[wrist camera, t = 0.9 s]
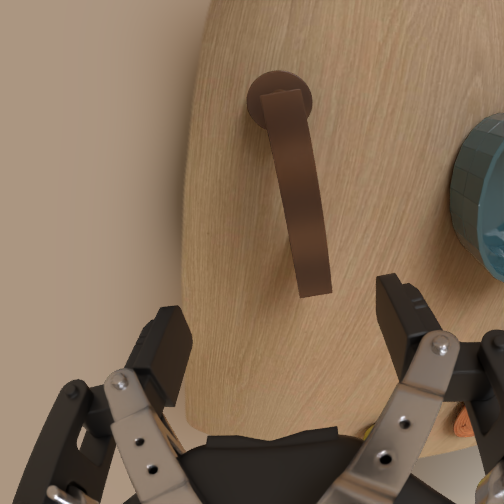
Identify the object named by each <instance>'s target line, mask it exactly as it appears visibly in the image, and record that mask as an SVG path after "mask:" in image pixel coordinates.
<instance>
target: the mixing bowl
mask: <svg viewBox="0 0 504 504" xmlns="http://www.w3.org/2000/svg"><path fill="white" fill-rule="evenodd" d="M450 212H451V217H452V222H453V227H454V230H455V232H456V234H457V236H458V238H459V241H460V243H461V244H462V245H463V246H464V247H465V248H466V249H467V250H468V252H469V253H470V254H471V255H472V256H473V257H474V258H475V259H476V260H477V261H478V262H479V263H480V264H481V265H482V266H483V267H484V268H485V269H486V270H487V271H488V272H489V273H490V274H491V275H492V276H493V277H494V278H496V279H498V280H500V281H502V282H504V113H497V114H495V115H492V116H489V117H487V118H485V119H484V120H483V121H481V122H480V123H479V124H478V125H477V126H476V127H474V128H473V129H472V131H471V132H470V134H469V135H468V137H467V138H466V140H465V141H464V143H463V144H462V146H461V149H460V152H459V154H458V157H457V159H456V162H455V164H454V169H453V174H452V180H451V185H450Z"/></svg>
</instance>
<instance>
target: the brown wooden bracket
mask: <svg viewBox="0 0 504 504" xmlns="http://www.w3.org/2000/svg"><path fill="white" fill-rule="evenodd" d="M247 107H248V111H249V113H250V115H251V117H252V119H253V120H254V121H255V122H256V123H257V124H258V125H259V126H261V127H262V128H264V129H266V130H267V131H268V135H269V140H270V145H271V149H272V154H273V159H274V163H275V168H276V173H277V178H278V183H279V188H280V193H281V198H282V203H283V208H284V213H285V218H286V223H287V229H288V234H289V239H290V245H291V250H292V256H293V261H294V267H295V273H296V278H297V284H298V290H299V296H300V298H305V297H311V296H317V295H323V294H329V293H332V283H331V274H330V265H329V256H328V248H327V240H326V232H325V225H324V217H323V210H322V204H321V197H320V190H319V184H318V178H317V172H316V166H315V160H314V154H313V149H312V143H311V138H310V133H309V128H308V122H307V118H308V117H309V115H310V112H311V109H312V95H311V92H310V90H309V88H308V86H307V85H306V83H305V82H304V81H303V80H302V79H301V78H300V77H298V76H297V75H295V74H293V73H290V72H287V71H271V72H268V73H265V74H263V75H261V76H260V77H258V78H257V79H256V80H255V81H254V82H253V84H252V85H251V87H250V89H249V91H248V95H247Z"/></svg>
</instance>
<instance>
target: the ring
mask: <svg viewBox="0 0 504 504" xmlns="http://www.w3.org/2000/svg"><path fill="white" fill-rule="evenodd" d="M453 430H454V433H455V435H457V436H459V437H470V436H475V435H474V432H473V428H472V425H471V422H470V419H469V416H468V413H467V410H466V407H465V406H464V407H463V409H462V410H461V412H460V413H459V415H458V416H457V418H456V420H455V423H454V428H453Z"/></svg>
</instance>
